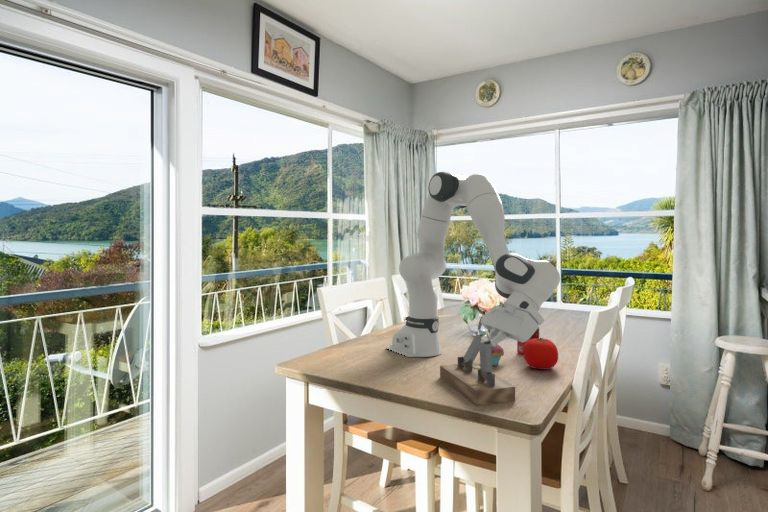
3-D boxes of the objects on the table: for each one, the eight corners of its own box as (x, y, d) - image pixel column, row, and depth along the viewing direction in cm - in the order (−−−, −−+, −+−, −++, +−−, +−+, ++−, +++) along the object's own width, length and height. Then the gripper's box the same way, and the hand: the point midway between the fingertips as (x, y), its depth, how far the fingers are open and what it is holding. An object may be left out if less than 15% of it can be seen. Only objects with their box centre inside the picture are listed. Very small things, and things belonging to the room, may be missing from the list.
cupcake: (486, 368, 152) (486, 333, 152) (474, 361, 161) (475, 328, 160) (508, 366, 155) (508, 332, 154) (496, 359, 163) (496, 327, 162)
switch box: (473, 374, 146) (473, 352, 145) (515, 400, 123) (515, 375, 122) (440, 377, 142) (440, 355, 142) (476, 405, 119) (477, 379, 119)
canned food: (540, 357, 166) (540, 328, 165) (518, 356, 167) (518, 327, 167) (537, 351, 173) (537, 324, 173) (516, 350, 175) (516, 323, 174)
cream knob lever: (486, 374, 128) (485, 333, 127) (492, 378, 125) (491, 336, 124) (479, 375, 127) (478, 334, 127) (485, 379, 124) (485, 337, 123)
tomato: (549, 362, 159) (549, 333, 158) (564, 373, 147) (564, 342, 146) (518, 362, 158) (518, 334, 158) (530, 373, 146) (531, 342, 146)
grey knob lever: (465, 364, 141) (483, 330, 142) (471, 367, 137) (489, 333, 138) (460, 360, 140) (478, 327, 141) (465, 364, 137) (484, 330, 138)
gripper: (493, 296, 137) (465, 329, 135) (535, 306, 118) (502, 345, 115) (505, 309, 139) (478, 342, 136) (548, 322, 119) (517, 360, 117)
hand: (489, 344), depth 126 cm, fingers closed, pressing on cream knob lever
